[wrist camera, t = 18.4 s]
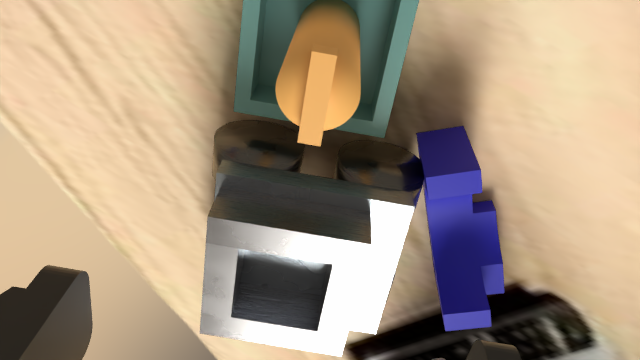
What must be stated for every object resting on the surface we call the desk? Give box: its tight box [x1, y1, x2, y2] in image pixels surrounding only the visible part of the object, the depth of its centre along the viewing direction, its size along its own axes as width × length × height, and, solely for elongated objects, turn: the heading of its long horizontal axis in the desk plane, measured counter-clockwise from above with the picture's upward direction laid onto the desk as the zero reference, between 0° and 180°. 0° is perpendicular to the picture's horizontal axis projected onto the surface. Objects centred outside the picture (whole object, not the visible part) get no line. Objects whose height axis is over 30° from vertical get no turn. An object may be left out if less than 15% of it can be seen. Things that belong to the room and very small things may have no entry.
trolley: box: [200, 120, 424, 357], centre depth 34 cm, size 13×10×10 cm
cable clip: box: [416, 126, 504, 331], centre depth 35 cm, size 12×4×6 cm, turn 12°
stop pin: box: [276, 0, 361, 146], centre depth 26 cm, size 4×4×11 cm
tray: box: [234, 0, 419, 138], centre depth 30 cm, size 9×10×3 cm
